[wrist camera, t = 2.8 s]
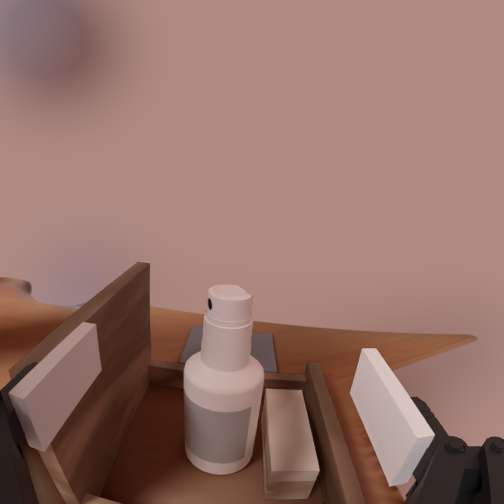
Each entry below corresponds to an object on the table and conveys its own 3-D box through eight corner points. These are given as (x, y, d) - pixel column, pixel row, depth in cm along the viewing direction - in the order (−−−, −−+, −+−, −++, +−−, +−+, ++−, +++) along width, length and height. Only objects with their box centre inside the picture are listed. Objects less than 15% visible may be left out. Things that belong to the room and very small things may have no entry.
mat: (179, 365, 44) (179, 362, 43) (192, 329, 55) (192, 326, 55) (276, 375, 44) (277, 371, 44) (271, 337, 56) (272, 334, 56)
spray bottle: (176, 437, 29) (174, 279, 25) (233, 425, 33) (249, 275, 29) (200, 483, 24) (204, 314, 20) (264, 464, 27) (293, 303, 23)
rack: (74, 516, 16) (8, 370, 13) (141, 375, 40) (137, 262, 36) (349, 545, 17) (435, 415, 13) (311, 392, 40) (334, 281, 37)
